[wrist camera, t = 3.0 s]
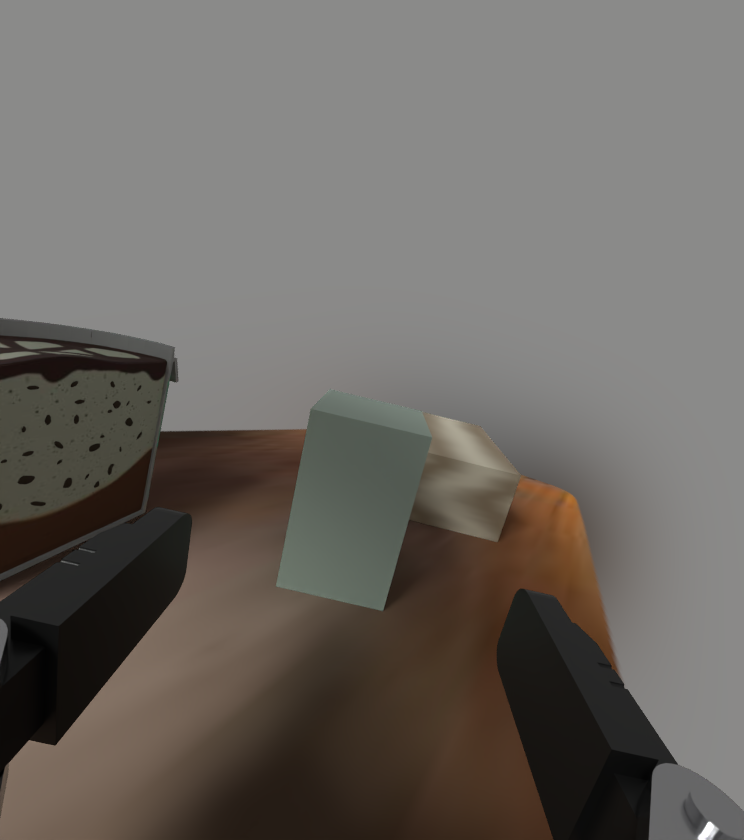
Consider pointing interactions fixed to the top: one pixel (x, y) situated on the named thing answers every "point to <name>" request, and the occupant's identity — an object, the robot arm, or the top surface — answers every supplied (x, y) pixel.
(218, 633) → the top surface
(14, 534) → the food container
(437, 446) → the birch block
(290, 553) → the sage block
